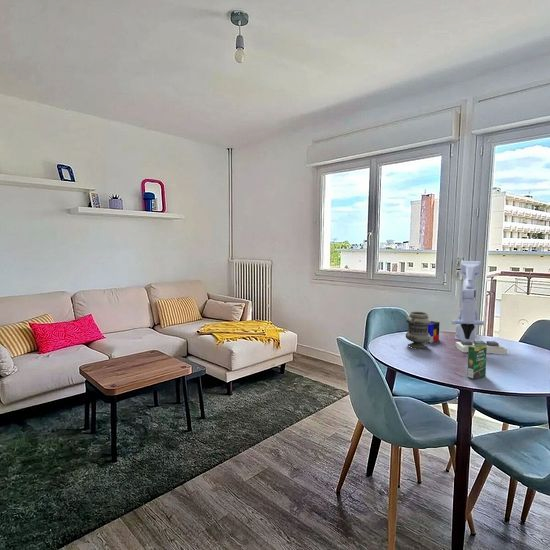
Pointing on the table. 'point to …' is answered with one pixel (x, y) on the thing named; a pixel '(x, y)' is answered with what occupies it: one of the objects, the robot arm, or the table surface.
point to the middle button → (479, 342)
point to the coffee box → (477, 361)
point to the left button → (466, 342)
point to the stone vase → (418, 329)
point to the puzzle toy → (433, 331)
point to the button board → (489, 348)
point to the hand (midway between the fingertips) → (467, 338)
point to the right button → (492, 343)
